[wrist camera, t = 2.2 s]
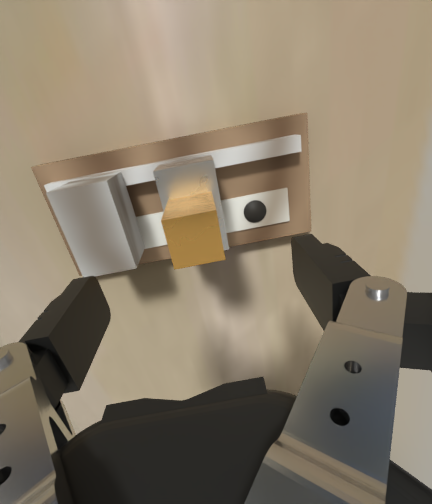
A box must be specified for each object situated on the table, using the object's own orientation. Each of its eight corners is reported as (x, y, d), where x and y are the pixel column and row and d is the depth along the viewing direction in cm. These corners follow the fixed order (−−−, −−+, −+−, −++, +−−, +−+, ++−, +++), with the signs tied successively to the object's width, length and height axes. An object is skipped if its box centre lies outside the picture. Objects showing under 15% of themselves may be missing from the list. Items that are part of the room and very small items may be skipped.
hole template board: (85, 268, 27) (55, 307, 22) (40, 164, 23) (-12, 178, 17) (305, 225, 27) (336, 254, 21) (300, 113, 23) (337, 109, 17)
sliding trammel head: (179, 238, 25) (172, 292, 17) (160, 163, 22) (140, 185, 14) (223, 229, 25) (237, 280, 17) (210, 153, 22) (219, 169, 14)
